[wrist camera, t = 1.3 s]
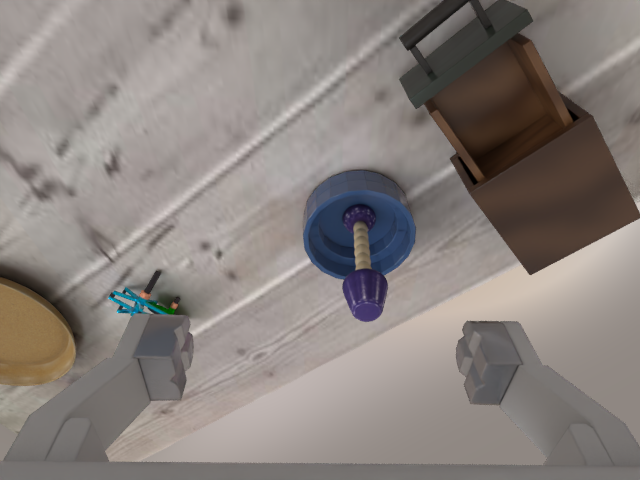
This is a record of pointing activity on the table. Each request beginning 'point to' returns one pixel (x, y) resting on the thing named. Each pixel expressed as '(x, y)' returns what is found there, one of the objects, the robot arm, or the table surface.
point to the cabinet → (555, 194)
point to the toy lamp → (363, 268)
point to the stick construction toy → (143, 300)
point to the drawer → (485, 85)
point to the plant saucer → (32, 338)
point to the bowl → (338, 243)
